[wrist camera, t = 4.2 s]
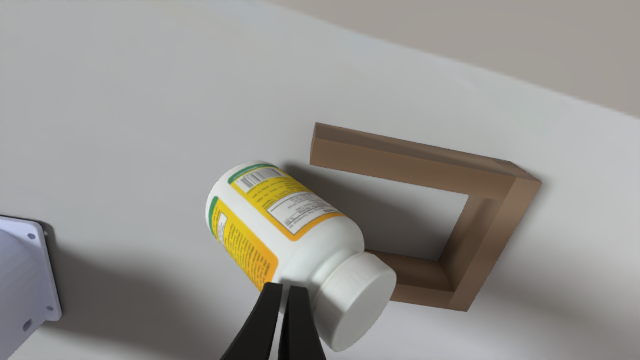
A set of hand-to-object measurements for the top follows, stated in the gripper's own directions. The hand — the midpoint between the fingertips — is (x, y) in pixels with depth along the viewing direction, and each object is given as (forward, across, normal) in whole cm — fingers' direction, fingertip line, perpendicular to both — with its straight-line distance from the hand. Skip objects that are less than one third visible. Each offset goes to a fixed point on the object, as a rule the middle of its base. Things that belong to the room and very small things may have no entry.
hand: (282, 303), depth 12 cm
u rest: (+9, -6, 0) cm, 11 cm away
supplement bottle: (+7, +3, 0) cm, 8 cm away
